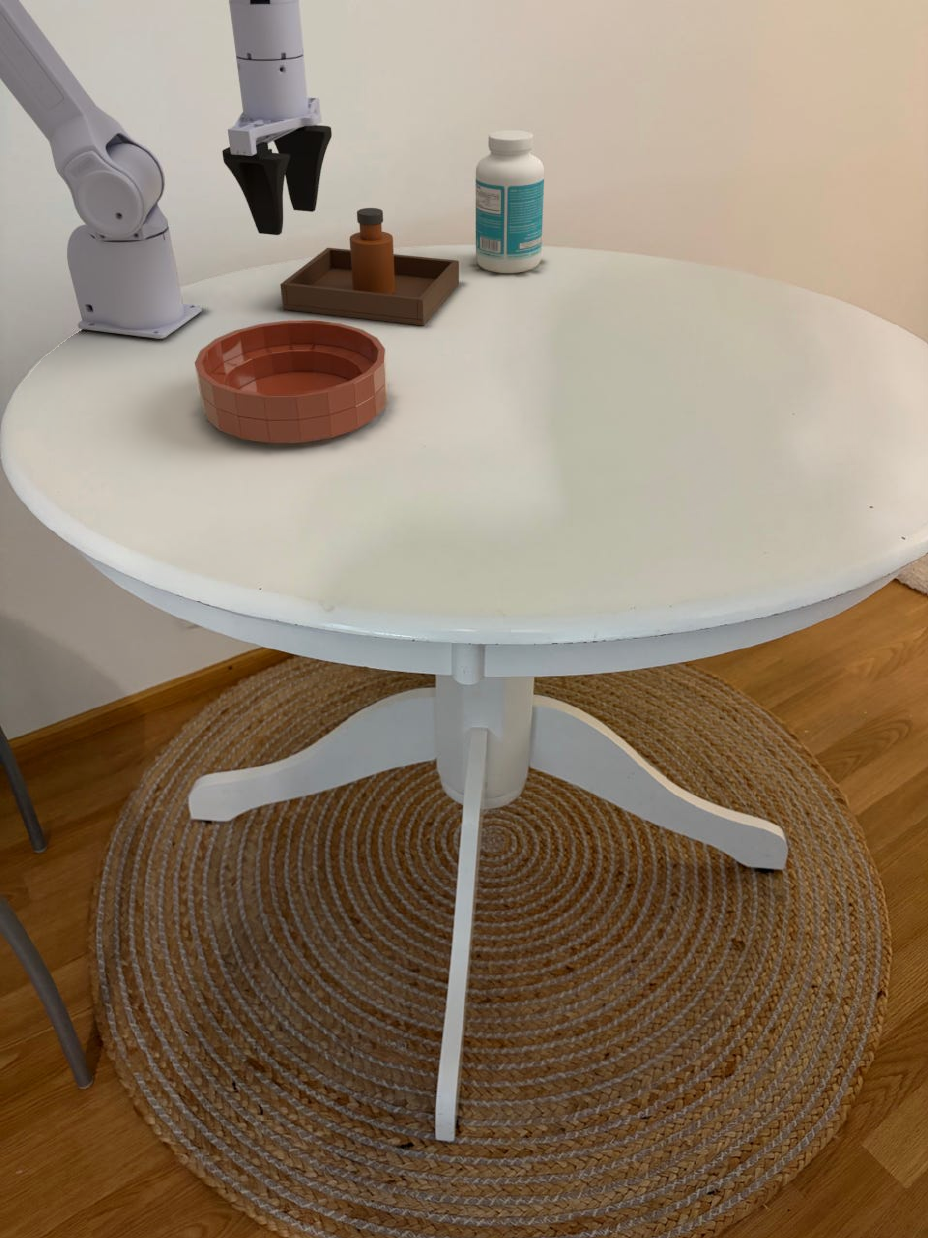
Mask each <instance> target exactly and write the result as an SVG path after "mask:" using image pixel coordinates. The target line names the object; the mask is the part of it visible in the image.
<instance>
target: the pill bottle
mask: <svg viewBox="0 0 928 1238" xmlns="http://www.w3.org/2000/svg"><path fill="white" fill-rule="evenodd" d="M487 145H488V149H489V151H490V153H489V154H488V155H485V156H484V157H482V158H481V159H480V160H479V161H478V162H477V165H476V167H475V260H476V263H477V264H478V265H479V267H481V268H482V269H484V270H486V271H489V272H494V273H499V274H500V273H501V274H517V273H518V274H519V273H524V272H528V271H531V270H532V269H535V268H536V267H537V266H538V265H539V264H540V262H541V260H542V248H543V245H542V243H543V242H542V241H543V221H544V220H543V219H544V193H545V192H544V190H545V166H544V164H543V162H542V161H541V159H540V158H539V157H537V156H535V155H533V154H531V151H532V149H533V147H534V135H533V133H532V132H530V131H525V130H517V129H515V130H514V129H507V130H497V131H493V132H491V133H489V134H488V144H487Z"/></svg>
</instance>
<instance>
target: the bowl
mask: <svg viewBox="0 0 928 1238" xmlns="http://www.w3.org/2000/svg"><path fill="white" fill-rule="evenodd" d="M194 367H195V374H196V378H197V384H198V389H199V395H200V399H201V406H202V410H203V413H204V416H205V418H206V420H207V421H208V422H210V424H211V425H213V426H214V427H215V428H216V429H218V430H219V431H220V432H223V433H226V434H227V435H230V436H234V437H236V438H238V439H242V440H249V441H256V442H262V443H270V444H280V443H281V444H283V443H284V444H285V443H286V444H288V443H296V444H297V443H307V442H314V441H320V440H326V439H331V438H334V437H338V436H340V435H343V434H347V433H349V432H352V431H355V430H357V429H359V428H361V427H363V426H364V425H366V424H367V423H369V422H371V421H372V420H374V419H376V418H377V417H378V416H379V414H380V413H381V412H382V411H383V410H384V408H385V407H386V405H387V401H388V378H387V377H388V376H387V375H388V374H387V358H386V348H385V347H384V345H383V344H382V343H381V342H380V340H379V338H378V337H376V336H374V335H373V334H371V333H369V332H367V331H366V330H364V329H361V328H358V327H355V326H351V325H348V324H344V323H341V322H331V321H324V320H315V319H312V320H311V319H310V320H308V319H307V320H305V319H304V320H302V319H301V320H281V321H273V322H265V323H260V324H255V325H251V326H247V327H242V328H239V329H236V330H233V331H230V332H228V333H226V334H224V335H222V336H219V337H216V338H215V339H213V340H212V341H210V343H208V344H207V345H206V346H204V347H203V348H202V349H201V350H199V352H198V354H197V357H196V358H195V361H194Z"/></svg>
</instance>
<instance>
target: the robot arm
mask: <svg viewBox="0 0 928 1238" xmlns="http://www.w3.org/2000/svg"><path fill="white" fill-rule="evenodd" d="M228 4H229V11H230V12H229V13H230V20H231V28H232V36H233V44H234V51H235V60H236V67H237V68H236V69H237V75H238V83H239V91H240V98H241V99H240V100H241V106H242V107H241V108H242V112H241V114H240V115H239V117H238V119H237V120H236V122H235V124H234V125H233V126H231V127H230V128H228V129H227V135H228V143H229V147H226V148H224V149H222V152H221V153H222V159H223V160H222V161H223V163H224V165H225V166H226V167H227V168H228V170H229V171H230V173H231V174H232V175H233V178H234V179H235V181H236V182H237V184H238V186H239V188H240V189H241V192H242V194H243V196H244V199H245V201H246V204H247V205H248V209H249V211H250V214H251V217H252V219H253V223H254V225H255V227H256V230H257V232H258V234H260V235H270V236H271V235H272V236H280V235H281V234H282V233H283V229H284V185H285V181H286V187H287V192H288V196H289V201H290V204H291V207H292V209H293V211H299V212H300V211H301V212H311V213H314V212H315V211H316V209H317V203H318V195H319V188H320V179H321V173H322V166H323V163H324V158H325V155H326V152H327V148H328V146H329V144H330V142H331V139H332V137H333V133H332V127H331V126H328V125H320V123H322V114H321V106H320V98H319V97H308V89H307V77H306V68H305V67H306V66H305V58H304V57H305V55H304V43H303V33H302V21H301V9H300V0H228ZM0 80H1V82H2V83H3V84H4V86H5V87H6V88H7V89H8V91H9V92H10V93H11V94H12V96H13V97H14V98H15V100H16V101H17V102H18V103H19V105H20V106H21V108H22V109H23V110H24V111H25V113H26V114H27V115H28V117H29V118H30V119H31V121H33V123H34V125H36V127H37V128H38V130H39V131H40V132H41V133H42V134H43V136H44V137H45V138H46V139H47V141H48V143H49V146H50V149H51V155H52V158H53V164H54V167H55V170H56V171H57V174H58V175H59V177H60V178H61V179H62V180H63V181H64V183H65V184H66V186H67V188H68V189H69V192H70V194H71V198H72V202H73V205H74V208H75V210H76V213H77V215H78V216H79V217H80V219H81V221H83V223H84V224H81V225H78V226H77V227H75V229H74V230H73V231H72V232H71V234H70V236H69V238H68V241H67V247H66V260H67V265H68V270H69V273H70V278H71V281H72V285H73V289H74V293H75V297H76V301H77V306H78V309H79V314H80V318H81V321H80V322H78V323H77V326H78V327H77V328H78V329H81V330H88V331H94V332H95V331H96V332H102V333H109V334H110V333H111V334H118V335H125V336H134V337H141V338H148V339H149V338H150V339H157V340H163V339H165V338H167V337H168V336H170V335H171V334H172V333H173V332H175V331H176V330H178V329H179V328H180V327H182V326H183V325H184V324H186V323H188V322H189V321H190V320H192V319H194V317H196V316H197V315H199V314H200V313H201V312H202V311H203V308H202V306H201V305H197V304H188V303H184V302H183V296H182V291H181V286H180V280H179V274H178V270H177V265H176V264H177V263H176V258H175V255H174V254H175V253H174V248H173V243H172V237H171V236H172V235H171V232H170V231H171V230H170V227H169V221H168V218H167V217H166V216H165V215H164V213H163V212H162V209H161V208H160V206H159V202H160V200H161V199H162V197H163V195H164V192H165V187H166V177H165V172H164V169H163V167H162V165H161V162H160V161H159V159H158V158H157V156H156V155H155V154H154V152H152V151H151V150H150V149H149V148H147V147H146V146H144V145H143V144H141V143H139V142H138V141H136V140H135V139H134V138H132V137H131V136H130V135H129V134H128V133H127V131H126V130H125V129H124V127H123V125H122V124H121V123H120V122H119V121H118V120H117V119H115V118H114V117H113V116H111V115H109V113H106V112H105V110H102V109H101V108H100V107H99V106H97V105H96V103H95V102H94V100H93V99H92V97H90V95H89V94H88V92H87V91H86V89H85V88H84V87H83V85H82V84H81V83H80V81H79V80H78V78H77V77H76V76H75V75H74V73H73V72H72V70H71V69H70V68H69V66H68V65H67V64H66V63H65V60H63V59H62V56H61V55H60V54H59V53H58V51H57V50H56V49H55V47H54V46H53V44H52V43H51V42H50V41H49V39H48V38H47V36H46V34H44V32H43V31H42V30H41V28H40V26H39V25H38V24H37V23H36V21H35V19H33V17H32V16H31V15H30V13H29V11H27V9H26V8H25V6H24V5H23V4H22V2H21V1H20V0H0ZM272 142H273V143H274V145H275V148H276V150H277V152H273V148H269V144H271V143H272Z"/></svg>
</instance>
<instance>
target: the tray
mask: <svg viewBox="0 0 928 1238" xmlns="http://www.w3.org/2000/svg"><path fill="white" fill-rule="evenodd" d="M394 274H395V292H394V293H393V294H383V293H374V292H365V291H356V290H353V281H352V267H351V253H350V249H346V248H336V247H326V248H325V249H324V250H322V251H321V252H320V253H319V254H317V255H316V256H315V257H313V258H312V259H311V260H309V261H308V262H307V263H306V264H304V265H303V266H302V267H301V268H299V269H298V270H296V272H294V273H293V274H292V275H290V276H289V277H287V278H286V279H285V280H284V281H283V282H281V283H280V284H279V285H280V295H281V303H282V310H285V311H286V310H287V311H295V312H301V313H311V314H312V313H313V314H318V315H319V314H320V315H329V316H338V317H345V318H355V319H363V320H371V321H380V322H390V323H398V324H407V325H413V326H422V327H423V326H425V325H426V323H427V322H428V321H429V320H430V319H431V318H432V317H433V315H434V314H435V313H436V312H437V311H438V310H439V309H440V307H441V306H442V305H443V304H444V303H445V301H447V299H448V298H449V297H450V296H451V295H452V294H453V292H454V291H455V290H456V289H457V287H459V285H460V260H455V259H447V258H437V257H428V256H416V255H408V254H407V255H405V254H397V253H394Z"/></svg>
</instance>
